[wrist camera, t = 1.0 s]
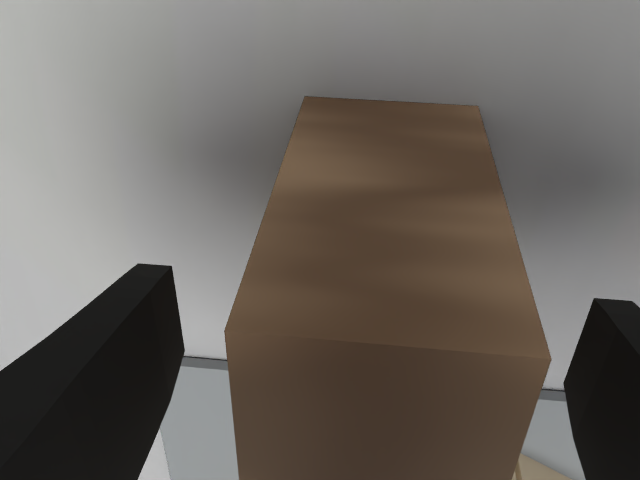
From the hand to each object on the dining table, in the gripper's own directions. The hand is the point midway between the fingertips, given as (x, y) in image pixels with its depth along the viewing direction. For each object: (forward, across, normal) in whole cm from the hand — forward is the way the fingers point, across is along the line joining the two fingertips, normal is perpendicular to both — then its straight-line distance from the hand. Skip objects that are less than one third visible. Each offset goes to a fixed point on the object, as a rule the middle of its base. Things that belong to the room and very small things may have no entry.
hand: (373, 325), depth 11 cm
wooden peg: (+6, 0, 0) cm, 6 cm away
